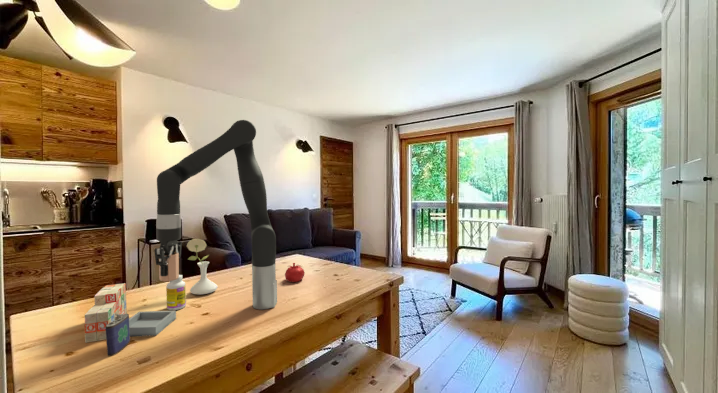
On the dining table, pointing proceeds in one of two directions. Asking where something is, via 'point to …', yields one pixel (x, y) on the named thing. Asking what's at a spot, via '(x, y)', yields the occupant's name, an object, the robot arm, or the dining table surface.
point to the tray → (150, 322)
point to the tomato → (294, 273)
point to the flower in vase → (204, 283)
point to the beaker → (171, 268)
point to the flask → (117, 334)
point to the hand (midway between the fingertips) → (169, 273)
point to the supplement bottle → (176, 294)
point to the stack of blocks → (104, 311)
